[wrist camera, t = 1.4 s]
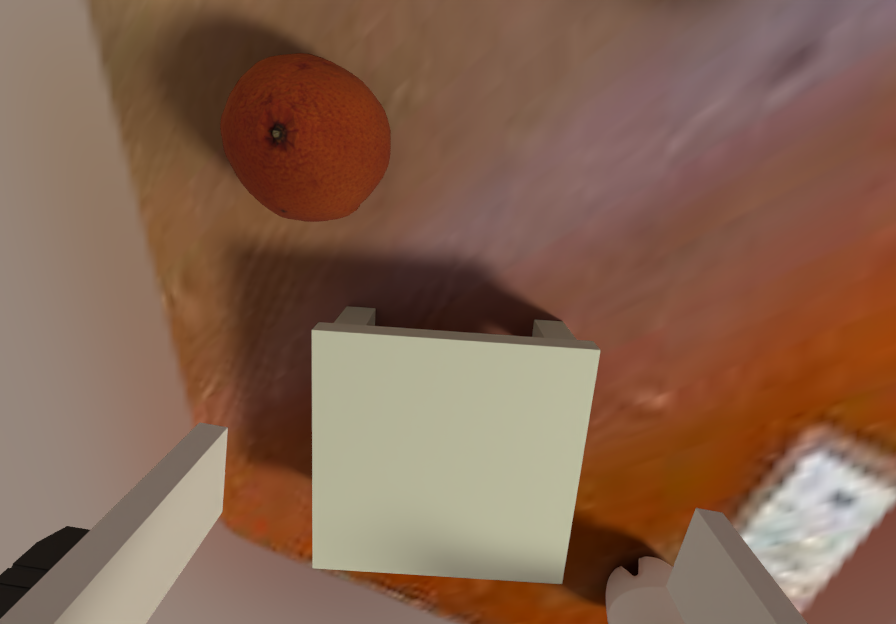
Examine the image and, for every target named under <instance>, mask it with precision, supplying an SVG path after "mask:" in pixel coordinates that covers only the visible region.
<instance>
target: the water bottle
mask: <svg viewBox="0 0 896 624" xmlns="http://www.w3.org/2000/svg"><path fill="white" fill-rule="evenodd" d="M672 569H673V567H672V566H671V565H669V564H668V563H666V562H664V561H663V560H661V559H658V558H655V557H648V556H645V557H642V558H639V566H638V575H636V576H633V575H632V574H631V573H630V572H628V571H627V570H626V569H624V568H623V567H622V566H620V567H617V568H616V569H615V570H614V571H613V572H612V573H611V575H610V577H609V579H608V582H607V587H606V610H607V619H608V624H685V623H684V621H683V619H682V617H681V615H680V613H679V611H678V609H677V607H676V605H675V603H674V601H673V599H672V597H671V595H670V593H669V591H668V589H667V587H666V585H667V582H668V579H669V577H670V574H671V572H672Z"/></svg>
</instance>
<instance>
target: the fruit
mask: <svg viewBox="0 0 896 624" xmlns="http://www.w3.org/2000/svg"><path fill="white" fill-rule="evenodd" d="M220 129H221V136H222V140H223V147H224V151H225V154H226V156H227V158H228V160H229V162H230V164H231V166H232V168H233V169H234V171H235V173H236V175H237V177H238V178H239V180H240V181H241V183H242V184H243V185H244V187H245V188H246V189H247V190H248V191H249V193H250V194H252V195H253V196H254V197H255V198H256V199H257V200H258V201H259V202H260V203H261V204H262V205H264V206H265V207H267V208H268V209H269V210H271V211H272V212H274V213H275V214H277V215H279V216H281V217H284V218H288V219H294V220H301V221H311V222H314V221H327V220H333V219H339V218H343V217H345V216H348V215H350V214H351V213H353V212H354V211H356V210H357V209H358V207H359V206H360V204H361V203H362V202H363V201H364V200H365V199H366V198H367V197H368V196H369V195H370V194H371V193H372V191H373V190H374V189H375V188H376V186H377V185H378V184H379V182H380V180H381V179H382V178H383V176H384V173H385V171H386V169H387V167H388V164H389V159H390V127H389V123H388V119H387V116H386V113H385V110H384V109H383V107H382V105H381V104H380V102H379V101H378V100H377V98H376V97H375V96H374V94H373V93H372V92H371V91H370V89H369V88H368V87H367V86H366V85H365V84H364V83H363V82H362V81H361V80H360V79H359V78H357V77H356V76H355V75H353V74H352V73H350V72H349V71H347V70H345V69H344V68H342V67H340V66H338V65H336V64H335V63H333V62H331V61H328V60H326V59H323V58H321V57H318V56H314V55H311V54H304V53H297V54H287V55H278V56H272V57H268V58H266V59H263V60H261V61H258V62H257V63H256V64H255V65H254V66H253V67H252V68H250V69H249V70H248V71H247V72H246V73H245V74H244V75H243V76H242V77H241V78H240V79H239V81H238V82H237V84H236V85H235V87H234V89H233V90H232V91H231V93H230V95H229V98H228V100H227V103H226V106H225V109H224V111H223V114H222V117H221V126H220Z"/></svg>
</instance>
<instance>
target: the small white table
mask: <svg viewBox="0 0 896 624" xmlns="http://www.w3.org/2000/svg"><path fill="white" fill-rule="evenodd" d="M375 312H376V308H364V307H350V306H346V308H345V309H344V310H343V312H342V313H341V314H340V315H339V317H338V318H337V319H336V320H335V322H334V323H325V322H318V323H317V324H316V326H315V327H314V328H313V329H312V531H313V568H318V569H334V570H349V571H365V572H381V573H397V574H412V575H428V576H444V577H459V578H475V579H491V580H506V581H522V582H538V583H553V584H562V581H563V575H564V569H565V563H566V557H567V551H568V545H569V539H570V533H571V526H572V520H573V514H574V508H575V502H576V496H577V490H578V484H579V478H580V472H581V466H582V460H583V453H584V447H585V441H586V435H587V429H588V423H589V417H590V411H591V405H592V399H593V393H594V387H595V381H596V374H597V368H598V362H599V356H600V349H599V348H598V346H597V345H596V344H595V343H594V342H593V341H583V340H576V338H575V337H574V336H573V334H572V333H571V332H570V330H569V329H568V328H567V326H566V325H565V324H564V322H563V321H549V320H535V319H534V325H533V334H532V337H526V336H512V335H497V334H483V333H469V332H454V331H440V330H426V329H411V328H397V327H383V326H375Z"/></svg>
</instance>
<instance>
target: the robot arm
mask: <svg viewBox="0 0 896 624" xmlns="http://www.w3.org/2000/svg"><path fill="white" fill-rule="evenodd" d="M227 432H228V427H222V426H216V425H211V424H205V423H199V424H198V425H197V426H196V427H195V428H194V429H193V430H192V431H190V432H189V434H188V435H187V436H185V437H184V438H183V439H182V440H181V441H180V442H179V443H178V444H177V445H176V446H175V447H174V448H173V449H172V450H171V451H170V452H169V453H168V454H167V455H166V456H165V457H164V458H163V459H162V460H161V461H160V462H159V463H158V464H157V465H156V466H155V467H154V468H153V469H152V470H151V471H150V472H149V473H148V474H147V475H146V476H145V477H144V478H143V479H142V480H141V481H140V482H139V483H138V484H137V485H136V486H135V487H134V488H133V489H132V490H131V491H130V492H129V493H128V494H127V495H126V496H125V497H124V498H122V499H121V500H120V502H118V503H117V504H116V505H115V506H114V507H113V508H112V509H111V510H110V511H109V512H108V513H107V514H106V515H105V516H104V517H103V518H102V519H101V520H100V521H99V522H98V523H97V524H96V525H95V526H94V527H93V528H92V529H91V530H88V529H82V528H75V527H69V526H66V527H65V528H63V529H61V530H59V531H57V532H55V533H54V534H52V535H50V536H48V537H46V538H44V539H42V540H41V541H39V542H37V543H36V544H35V545H34V546H32V547H31V548H30V549H29V550H28V551H27V552H26V553H25V554H23V555H22V556H21V557H20V558H19V559H18V560H17V561H16V562H14V563H13V566H12V568H8V569H7V570H6V571H4V572H3V573H2V574H1V575H0V624H146V623H147V621H148V619H149V618H150V617H151V615H152V614H153V612H154V611H155V609H156V608H157V606H158V605H159V604H160V602H161V601H162V599H163V598H164V596H165V595H166V593H167V592H168V590H169V589H170V588H171V586H172V585H173V583H174V582H175V580H176V579H177V577H178V576H179V574H180V573H181V571H182V570H183V569H184V567H185V566H186V564H187V563H188V561H189V560H190V558H191V557H192V555H193V554H194V552H195V551H196V550H197V548H198V547H199V545H200V544H201V542H202V541H203V539H204V538H205V536H206V535H207V533H208V532H209V530H210V529H211V528H212V526H213V525H214V523H215V522H216V520H217V519H218V517H219V516H220V515H221V513H222V509H223V493H224V478H225V463H226V447H227ZM666 587H667V589H668V591H669V593H670V595H671V597H672V599H673V601H674V603H675V605H676V607H677V609H678V611H679V613H680V615H681V617H682V619H683V621H684V623H685V624H807V622H806V621H805V620H804V618H803V617H802V616H801V614H800V613H799V612H798V610H797V609H796V608H795V607H794V605H793V604H792V603H791V601H790V600H789V599H788V597H787V596H786V595H785V594H784V592H783V591H782V590H781V588H780V587H779V586H778V584H777V583H776V582H775V581H774V579H773V578H772V577H771V575H770V574H769V573H768V571H767V570H766V569H765V567H764V566H763V565H762V564H761V562H760V561H759V560H758V558H757V557H756V556H755V554H754V553H753V552H752V551H751V549H750V548H749V547H748V545H747V544H746V543H745V541H744V540H743V539H742V538H741V536H740V535H739V534H738V532H737V531H736V530H735V528H734V527H733V526H732V525H731V523H730V522H729V521H728V519H727V518H726V517H725V515H724V514H723V513H721V512H715V511H709V510H704V509H698V508H696V510H695V512H694V515H693V517H692V520H691V523H690V525H689V528H688V530H687V533H686V535H685V538H684V541H683V543H682V546H681V548H680V551H679V554H678V556H677V559H676V561H675V564H674V567H673V569H672V572H671V574H670V577H669V579H668V582H667V585H666Z"/></svg>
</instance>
